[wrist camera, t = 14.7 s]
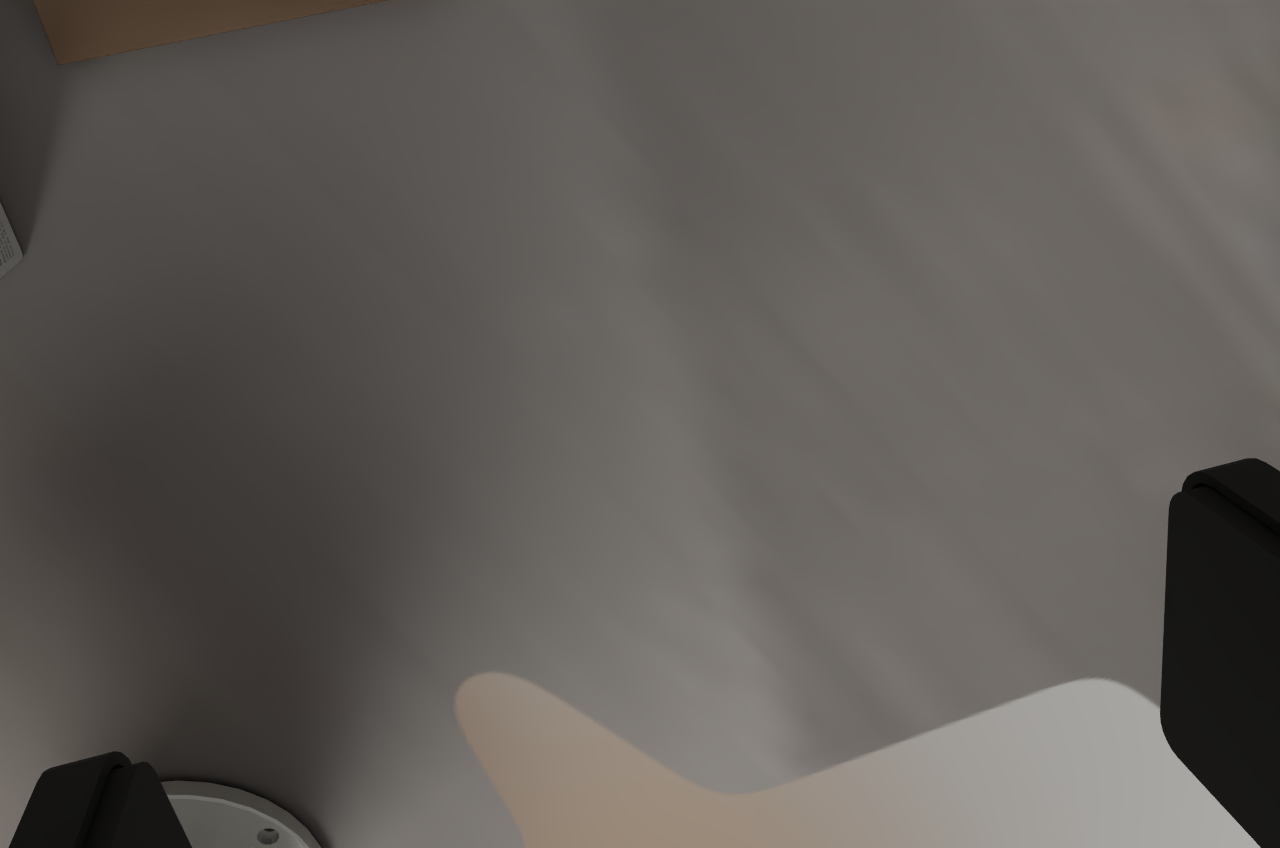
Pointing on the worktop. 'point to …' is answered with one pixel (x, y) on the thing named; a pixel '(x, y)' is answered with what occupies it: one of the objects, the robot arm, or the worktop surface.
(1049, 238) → the worktop surface
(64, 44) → the stake board
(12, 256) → the brown food box
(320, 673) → the worktop surface
